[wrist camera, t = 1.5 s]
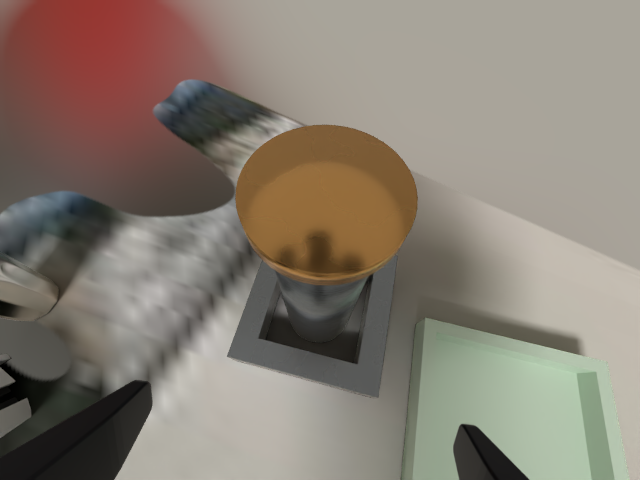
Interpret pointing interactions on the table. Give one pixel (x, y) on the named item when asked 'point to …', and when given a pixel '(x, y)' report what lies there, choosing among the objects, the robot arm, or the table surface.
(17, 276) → the milkshake
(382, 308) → the frame
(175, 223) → the table surface
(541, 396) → the tray
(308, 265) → the grey and gold cylinder
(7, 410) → the grey arched block
